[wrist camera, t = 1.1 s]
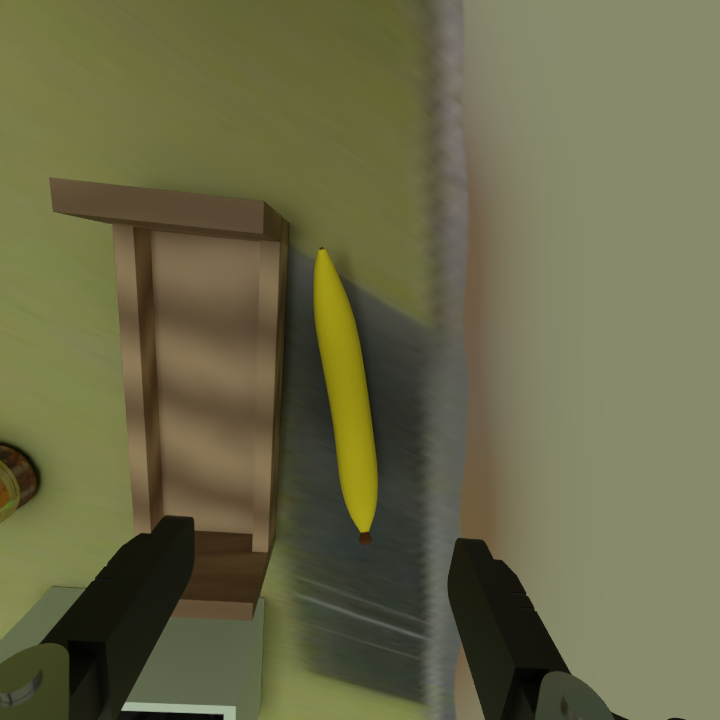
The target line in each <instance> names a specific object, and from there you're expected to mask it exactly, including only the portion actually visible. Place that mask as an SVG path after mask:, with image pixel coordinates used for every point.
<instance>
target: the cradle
mask: <svg viewBox="0 0 720 720" xmlns="http://www.w3.org/2000/svg"><path fill="white" fill-rule="evenodd" d="M49 179H50V188H51V197H52V206H53V212H57V213H62V214H66V215H71V216H76V217H80V218H85V219H90V220H94V221H99V222H104V223H108V224H113V238H114V252H115V266H116V279H117V293H118V307H119V321H120V335H121V349H122V363H123V377H124V390H125V404H126V418H127V432H128V446H129V460H130V474H131V488H132V502H133V515H134V529H135V537H136V536H137V535H139V534H140V533H151V532H152V531H153V529H154V528H155V527H156V525H157V524H158V523H159V521H160V520H161V519H162V518H163V517H164V516H165V515H174V516H187V517H193V518H194V534H195V560H194V567H193V571H192V574H191V577H190V580H189V582H188V584H187V586H186V588H185V590H184V592H183V594H182V596H181V598H180V600H179V602H178V603H177V605H176V607H175V609H174V611H173V613H172V615H171V617H181V618H201V619H222V620H242V621H252V620H253V617H254V613H255V610H256V606H257V603H258V599H259V596H260V592H261V589H262V585H263V582H264V578H265V574H266V571H267V567H268V564H269V560H270V557H271V553H272V550H273V546H274V543H275V529H276V506H277V484H278V462H279V440H280V417H281V395H282V373H283V350H284V328H285V306H286V283H287V261H288V239H289V222H288V221H287V220H285V219H284V218H283V217H282V216H281V215H279V214H278V213H277V212H276V211H275V210H274V209H272V208H271V207H270V206H269V205H268V204H267V203H265V202H264V201H258V200H248V199H239V198H230V197H221V196H212V195H203V194H194V193H185V192H176V191H167V190H158V189H149V188H140V187H131V186H121V185H112V184H103V183H94V182H85V181H76V180H67V179H58V178H49Z"/></svg>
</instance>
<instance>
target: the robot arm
mask: <svg viewBox="0 0 720 720" xmlns="http://www.w3.org/2000/svg"><path fill="white" fill-rule="evenodd" d="M194 560H195V534H194V518H193V517H187V516H174V515H165V516H164V517H163V518H162V519H161V520H160V521H159V523H158V524H157V525H156V527H155V528H154V529H153V531H152V532H151V533H140V534H139V535H137V536H136V537H134V538H133V539H132V540H130V541H129V542H127V543H126V544H124V545H123V546H122V547H121V548H120V549H119V550H118V551H117V553H116V554H115V555H114V556H113V557H112V558H111V560H110V561H109V562H108V564H107V566H106V567H104V568H103V569H102V570H101V571H100V573H99V574H98V575H97V576H96V577H95V580H94V581H92V582H91V583H90V584H89V586H88V587H87V588H86V589H85V590H84V592H83V593H82V594H81V595H80V596H79V598H78V599H77V600H76V601H75V602H74V603H73V605H72V606H71V607H70V608H69V609H68V611H67V612H66V613H65V614H64V615H63V616H62V618H61V619H60V620H59V621H58V622H57V624H56V625H55V626H54V627H53V628H52V629H51V631H50V632H49V633H48V634H47V635H46V637H45V638H44V639H43V640H42V641H41V642H40V643H39V644H38V645H36V646H32V647H30V648H27V649H24V650H22V651H20V652H18V653H16V654H14V655H13V656H11V657H9V658H8V659H6V660H5V661H3V662H2V663H1V664H0V720H116V719H117V717H118V715H119V713H120V711H121V710H122V708H123V706H124V704H125V702H126V700H127V698H128V696H129V694H130V692H131V691H132V689H133V687H134V685H135V683H136V681H137V679H138V677H139V675H140V674H141V672H142V670H143V668H144V666H145V664H146V662H147V660H148V658H149V656H150V655H151V653H152V651H153V649H154V647H155V645H156V643H157V641H158V639H159V638H160V636H161V634H162V632H163V630H164V628H165V626H166V624H167V622H168V620H169V619H170V617H171V615H172V613H173V611H174V609H175V607H176V605H177V603H178V602H179V600H180V598H181V596H182V594H183V592H184V590H185V588H186V586H187V584H188V582H189V580H190V577H191V574H192V571H193V567H194ZM448 596H449V601H450V605H451V608H452V612H453V615H454V618H455V621H456V625H457V628H458V631H459V635H460V638H461V641H462V645H463V648H464V651H465V654H466V658H467V661H468V664H469V667H470V671H471V674H472V678H473V681H474V684H475V688H476V691H477V694H478V697H479V700H480V704H481V707H482V711H483V714H484V717H485V720H628V719H626V718H623V717H621V716H619V715H616V714H614V713H612V712H611V711H610V710H609V708H608V707H607V705H606V704H605V702H604V701H603V700H602V699H601V698H600V697H599V696H598V694H597V693H596V692H595V691H594V690H593V689H592V688H591V687H589V686H588V685H587V684H586V683H584V682H583V681H582V680H580V679H578V678H576V677H575V676H573V675H572V674H571V673H570V671H569V669H568V668H567V666H566V664H565V662H564V661H563V659H562V657H561V655H560V653H559V652H558V649H557V648H556V646H555V644H554V642H553V641H552V639H551V637H550V635H549V633H548V631H547V630H546V628H545V626H544V624H543V622H542V621H541V619H540V617H539V615H538V613H537V612H536V611H535V610H534V606H533V604H532V602H531V601H530V599H529V597H528V596H526V592H525V590H524V588H523V586H522V584H521V583H520V581H519V579H518V577H517V575H516V574H515V573H514V572H513V571H512V570H511V569H510V568H509V567H508V566H507V565H506V564H505V563H504V562H503V561H502V560H494V559H493V557H492V555H491V553H490V551H489V549H488V547H487V545H486V543H485V542H484V541H483V540H480V539H466V538H458V539H457V540H456V543H455V547H454V552H453V556H452V561H451V566H450V570H449V575H448ZM668 720H685V719H680V718H671V719H668Z"/></svg>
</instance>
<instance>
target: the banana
mask: <svg viewBox="0 0 720 720" xmlns="http://www.w3.org/2000/svg"><path fill="white" fill-rule="evenodd" d="M314 316H315V327H316V333H317V338H318V344H319V350H320V355H321V361H322V366H323V371H324V377H325V382H326V387H327V392H328V398H329V403H330V409H331V415H332V422H333V428H334V436H335V443H336V453H337V462H338V471H339V477H340V484H341V488H342V492H343V496H344V500H345V503H346V506H347V508H348V511H349V513H350V516H351V518H352V519H353V521H354V523H355V524H356V526H357V527H358V529H359V531H360V532H361V534H360V539H359V542H360V543H361V544H363V545H367V544H369V543H370V542H371V541H372V538H371V536H370V534H369V529H370V526H371V523H372V520H373V517H374V514H375V509H376V503H377V492H378V473H377V460H376V451H375V443H374V435H373V428H372V420H371V412H370V405H369V398H368V391H367V384H366V377H365V371H364V364H363V358H362V352H361V347H360V341H359V337H358V332H357V328H356V323H355V319H354V316H353V313H352V309H351V306H350V303H349V300H348V298H347V295H346V293H345V290H344V288H343V285H342V283H341V280H340V278H339V276H338V274H337V271H336V269H335V267H334V265H333V263H332V261H331V259H330V257H329V255H328V253H327V251H326V249H324V248H323V247H321V248H320V249H319V250H318V254H317V259H316V262H315V265H314Z"/></svg>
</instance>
